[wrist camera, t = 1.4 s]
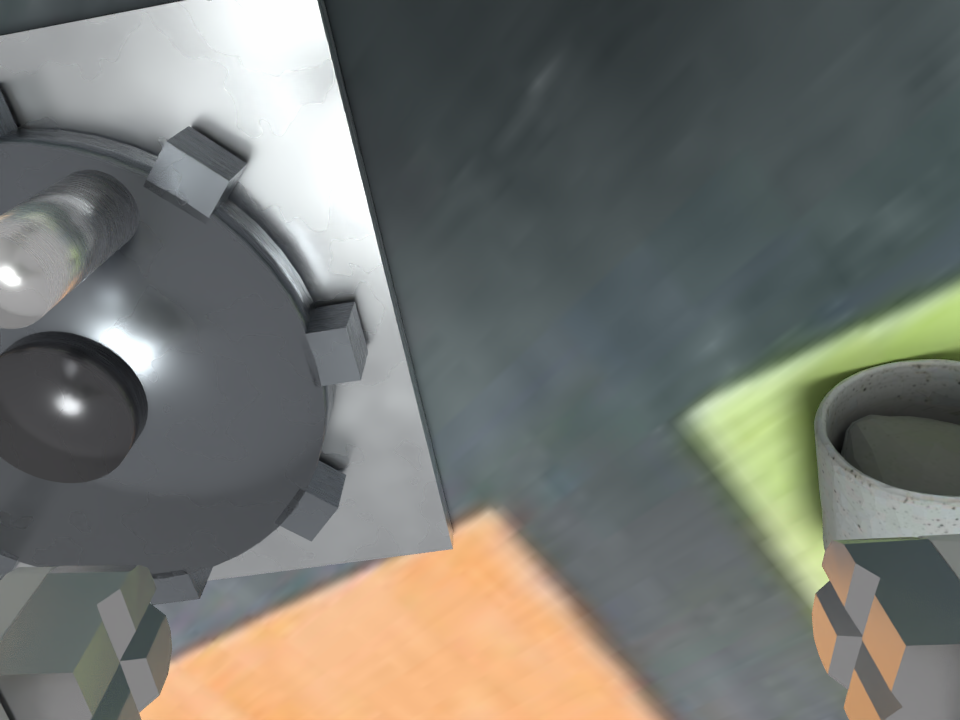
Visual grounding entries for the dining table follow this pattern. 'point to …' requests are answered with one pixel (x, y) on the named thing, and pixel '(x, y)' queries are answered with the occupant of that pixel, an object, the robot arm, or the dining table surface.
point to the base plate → (265, 219)
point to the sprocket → (154, 362)
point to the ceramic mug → (891, 452)
